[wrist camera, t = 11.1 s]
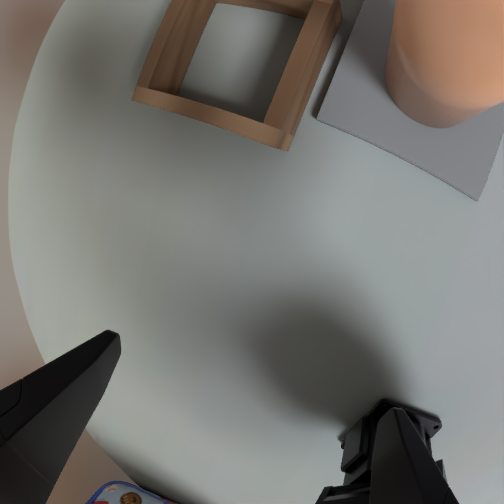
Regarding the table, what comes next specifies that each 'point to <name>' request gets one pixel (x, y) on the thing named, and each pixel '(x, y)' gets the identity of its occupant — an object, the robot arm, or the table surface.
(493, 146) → the mat
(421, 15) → the tan dome with tab
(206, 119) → the holder
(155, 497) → the lunch box
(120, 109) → the table surface
